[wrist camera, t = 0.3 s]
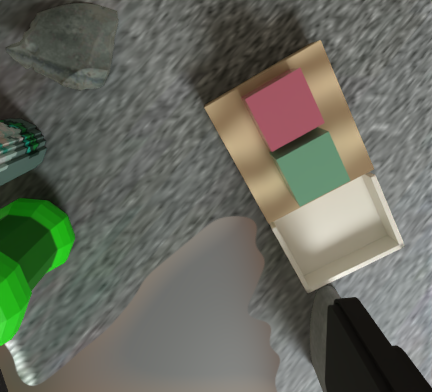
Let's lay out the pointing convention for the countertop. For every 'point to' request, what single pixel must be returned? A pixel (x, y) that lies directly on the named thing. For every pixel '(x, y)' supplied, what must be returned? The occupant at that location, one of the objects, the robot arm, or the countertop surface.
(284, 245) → the tray
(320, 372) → the hip flask
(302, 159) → the green block
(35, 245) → the plastic bottle
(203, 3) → the countertop surface
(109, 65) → the stone
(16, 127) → the green printed upright box
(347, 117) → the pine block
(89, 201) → the countertop surface
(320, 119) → the pink toy cube
